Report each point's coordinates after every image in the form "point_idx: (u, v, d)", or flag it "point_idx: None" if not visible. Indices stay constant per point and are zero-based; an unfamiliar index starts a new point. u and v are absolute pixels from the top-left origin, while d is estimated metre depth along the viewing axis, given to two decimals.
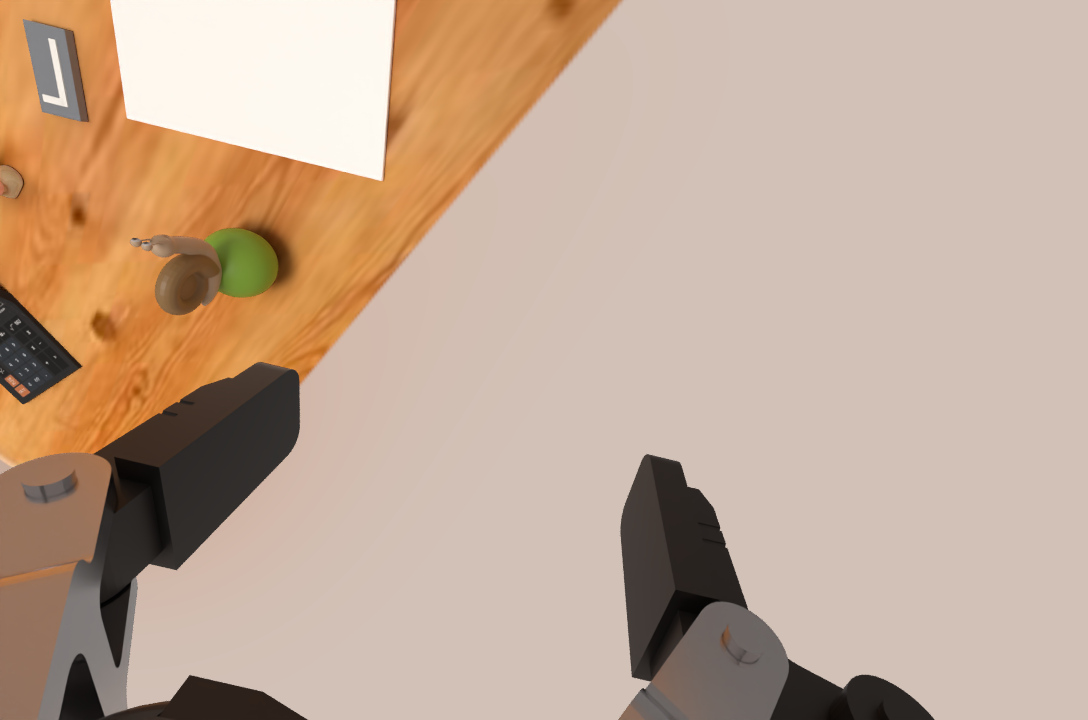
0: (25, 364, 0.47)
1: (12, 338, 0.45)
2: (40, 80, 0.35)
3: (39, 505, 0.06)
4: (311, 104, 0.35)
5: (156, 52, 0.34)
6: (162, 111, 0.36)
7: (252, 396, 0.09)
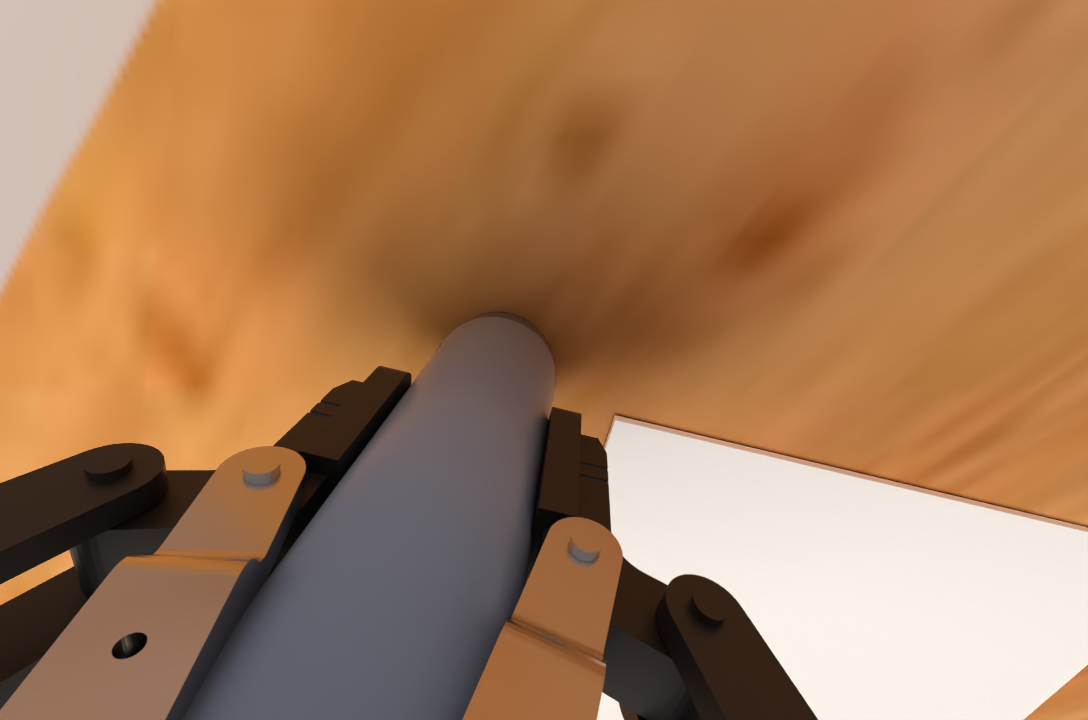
0: None
1: None
2: None
3: (263, 492, 0.07)
4: None
5: None
6: None
7: (387, 397, 0.10)
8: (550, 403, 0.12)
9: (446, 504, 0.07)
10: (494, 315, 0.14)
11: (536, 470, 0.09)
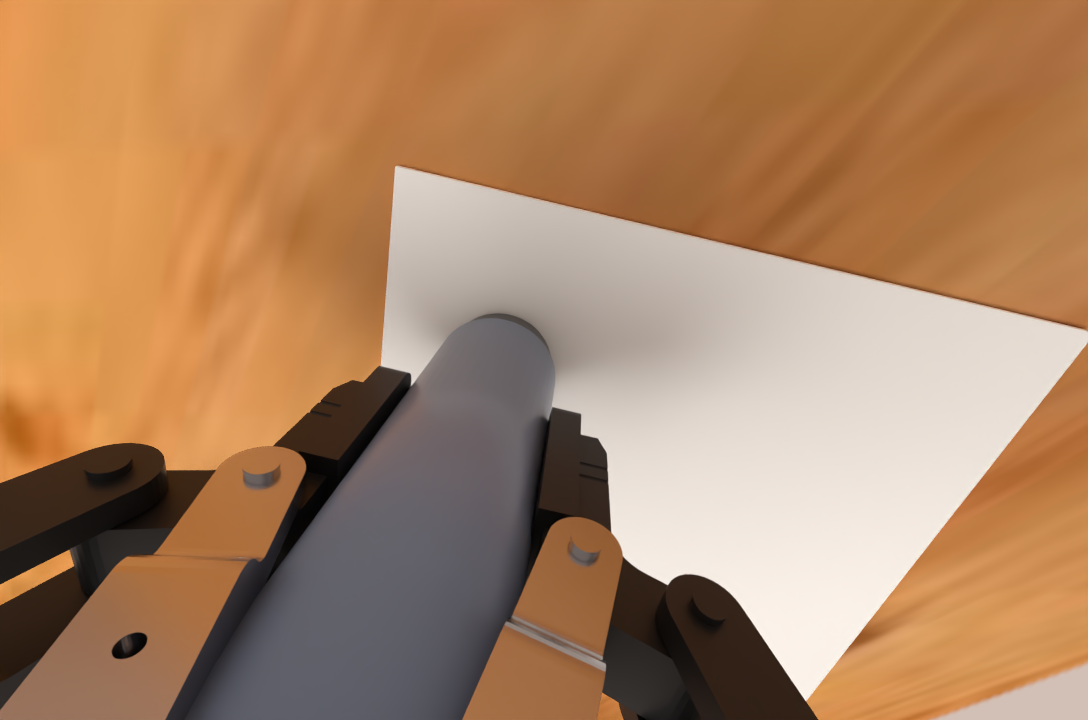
0: None
1: None
2: None
3: (262, 492, 0.07)
4: None
5: None
6: None
7: (387, 397, 0.10)
8: (550, 404, 0.12)
9: (446, 506, 0.07)
10: (494, 316, 0.14)
11: (536, 471, 0.09)
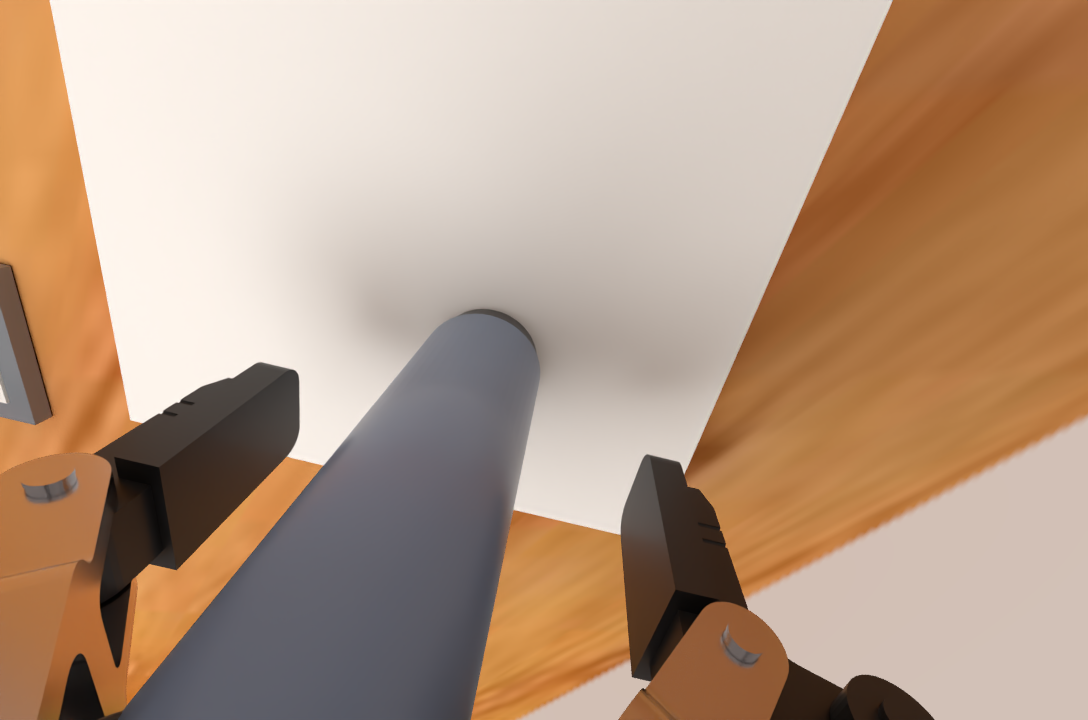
0: None
1: None
2: None
3: (39, 505, 0.06)
4: None
5: (195, 314, 0.15)
6: None
7: (252, 396, 0.09)
8: (532, 399, 0.12)
9: (416, 496, 0.07)
10: (479, 312, 0.14)
11: (514, 464, 0.09)
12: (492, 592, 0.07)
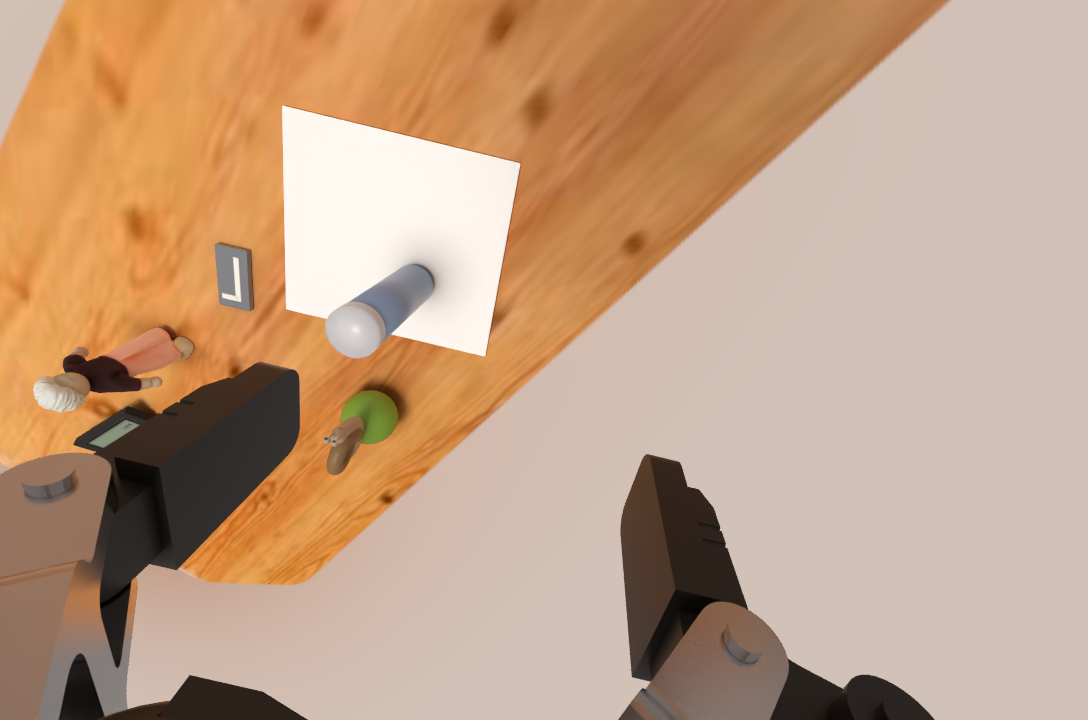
0: None
1: None
2: (221, 283, 0.45)
3: (39, 505, 0.06)
4: (434, 304, 0.45)
5: (316, 267, 0.44)
6: (314, 305, 0.46)
7: (252, 396, 0.09)
8: (425, 288, 0.41)
9: (387, 289, 0.35)
10: (413, 265, 0.43)
11: (412, 296, 0.38)
12: (401, 310, 0.36)
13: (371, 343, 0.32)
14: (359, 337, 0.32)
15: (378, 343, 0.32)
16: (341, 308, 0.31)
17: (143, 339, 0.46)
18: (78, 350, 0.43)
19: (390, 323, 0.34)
